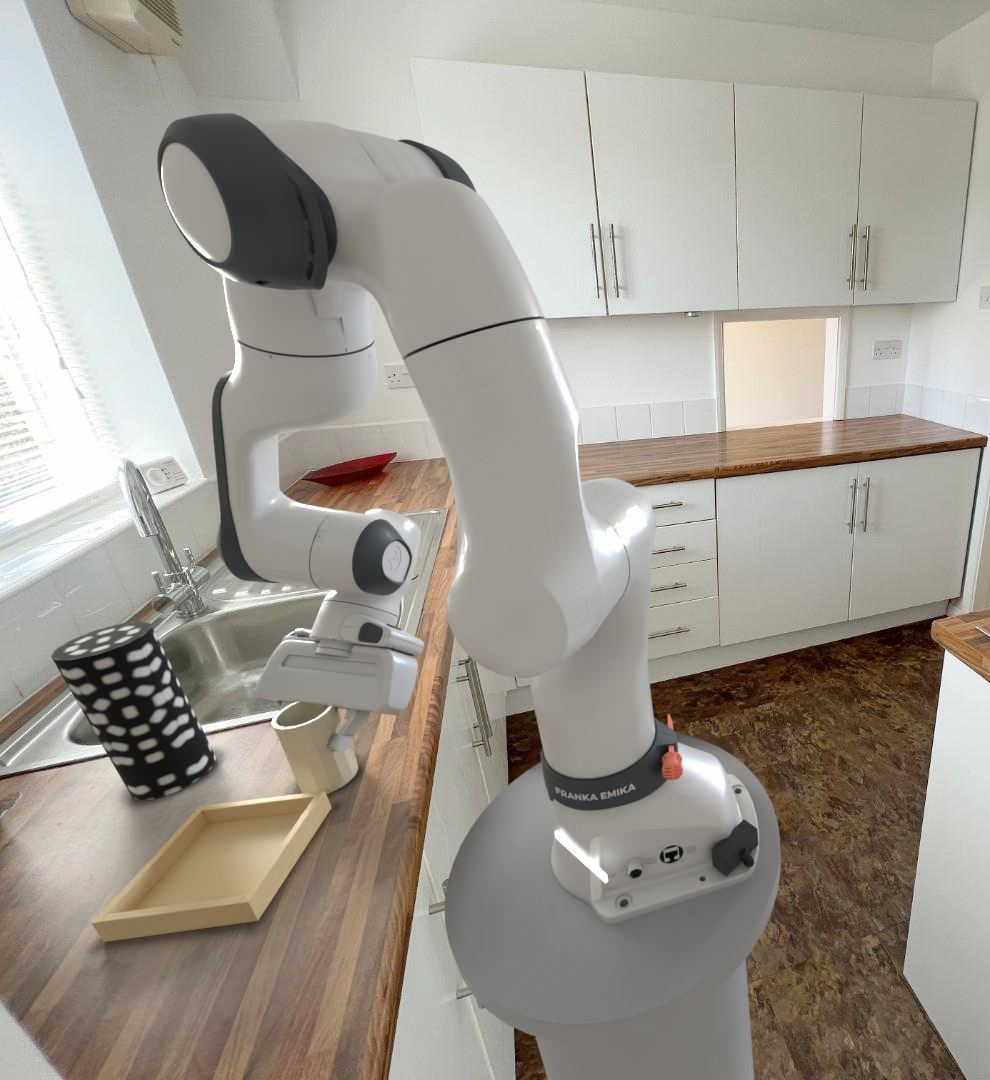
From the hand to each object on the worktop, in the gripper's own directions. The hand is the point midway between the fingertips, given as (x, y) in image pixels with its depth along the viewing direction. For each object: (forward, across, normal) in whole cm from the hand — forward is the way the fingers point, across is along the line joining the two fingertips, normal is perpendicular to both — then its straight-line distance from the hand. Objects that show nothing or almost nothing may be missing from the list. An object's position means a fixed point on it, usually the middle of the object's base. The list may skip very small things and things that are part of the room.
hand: (311, 746), depth 70 cm
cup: (+3, 0, +4) cm, 5 cm away
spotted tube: (+6, -21, +2) cm, 22 cm away
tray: (+12, 0, -5) cm, 13 cm away
